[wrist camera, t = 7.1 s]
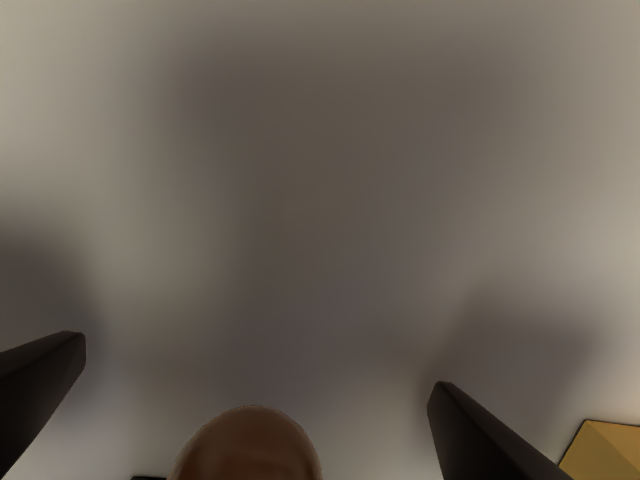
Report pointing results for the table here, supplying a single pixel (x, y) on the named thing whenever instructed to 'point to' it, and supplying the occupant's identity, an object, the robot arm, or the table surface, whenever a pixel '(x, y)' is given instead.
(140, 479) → the lever switch
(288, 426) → the lever handle
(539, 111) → the table surface
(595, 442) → the butter
